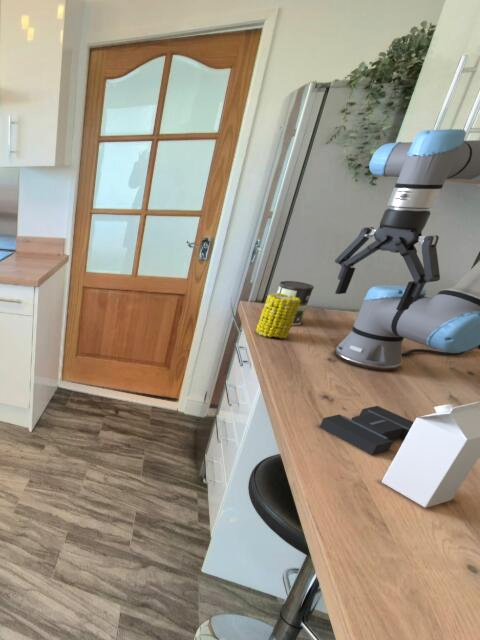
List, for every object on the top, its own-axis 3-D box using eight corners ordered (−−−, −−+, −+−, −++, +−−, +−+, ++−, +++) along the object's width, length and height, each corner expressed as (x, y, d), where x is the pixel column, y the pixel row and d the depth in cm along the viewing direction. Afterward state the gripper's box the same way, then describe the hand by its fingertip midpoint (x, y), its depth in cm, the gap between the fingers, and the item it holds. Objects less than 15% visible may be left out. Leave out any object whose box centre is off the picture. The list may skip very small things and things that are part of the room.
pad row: (372, 414, 104) (377, 404, 103) (428, 440, 94) (433, 430, 93) (319, 426, 99) (323, 417, 98) (371, 455, 90) (377, 444, 89)
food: (249, 338, 151) (265, 333, 156) (287, 341, 141) (302, 337, 146) (253, 294, 148) (268, 291, 153) (292, 295, 138) (307, 292, 143)
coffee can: (300, 319, 164) (313, 283, 158) (301, 327, 156) (314, 289, 150) (268, 314, 169) (279, 279, 163) (268, 322, 161) (279, 285, 155)
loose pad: (366, 423, 100) (372, 412, 99) (398, 439, 95) (404, 427, 94) (347, 428, 99) (352, 417, 97) (378, 444, 93) (384, 432, 92)
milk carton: (451, 500, 78) (509, 412, 70) (424, 508, 76) (480, 419, 68) (406, 475, 84) (454, 391, 76) (380, 482, 82) (426, 397, 74)
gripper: (337, 204, 104) (307, 288, 114) (471, 216, 83) (420, 319, 92) (359, 203, 106) (328, 286, 116) (495, 214, 85) (443, 315, 94)
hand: (369, 301), depth 104 cm, fingers open, 13 cm apart
